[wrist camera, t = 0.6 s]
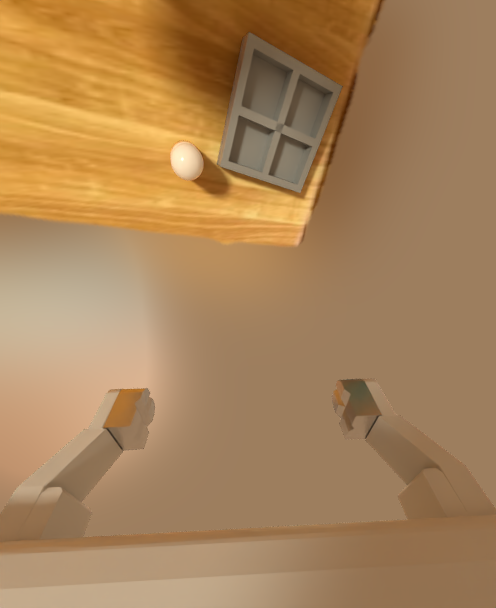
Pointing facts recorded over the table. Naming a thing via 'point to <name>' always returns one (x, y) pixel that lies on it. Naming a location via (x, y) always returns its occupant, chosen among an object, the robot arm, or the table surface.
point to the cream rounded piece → (186, 160)
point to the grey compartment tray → (275, 115)
